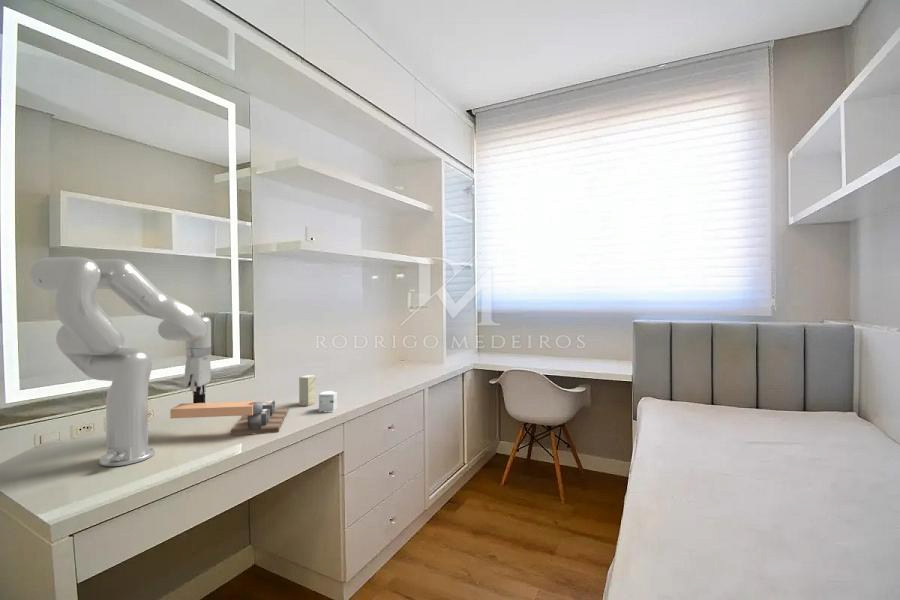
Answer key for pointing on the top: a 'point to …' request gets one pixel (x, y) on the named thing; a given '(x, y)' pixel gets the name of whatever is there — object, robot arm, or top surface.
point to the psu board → (271, 424)
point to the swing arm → (216, 409)
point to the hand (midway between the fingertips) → (199, 405)
